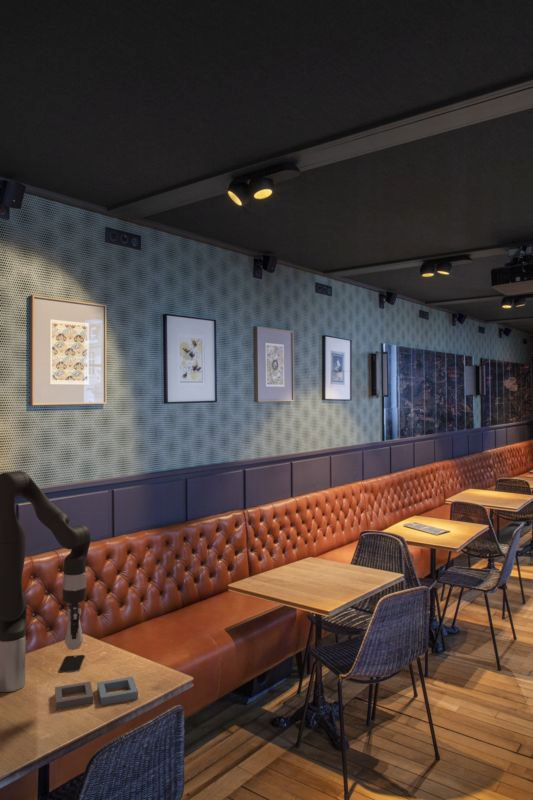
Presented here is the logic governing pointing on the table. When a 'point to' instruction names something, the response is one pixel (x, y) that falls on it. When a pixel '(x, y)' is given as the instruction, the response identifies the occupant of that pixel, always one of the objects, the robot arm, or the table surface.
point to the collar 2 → (118, 696)
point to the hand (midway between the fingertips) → (73, 637)
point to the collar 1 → (75, 700)
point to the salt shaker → (74, 643)
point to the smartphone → (72, 663)
